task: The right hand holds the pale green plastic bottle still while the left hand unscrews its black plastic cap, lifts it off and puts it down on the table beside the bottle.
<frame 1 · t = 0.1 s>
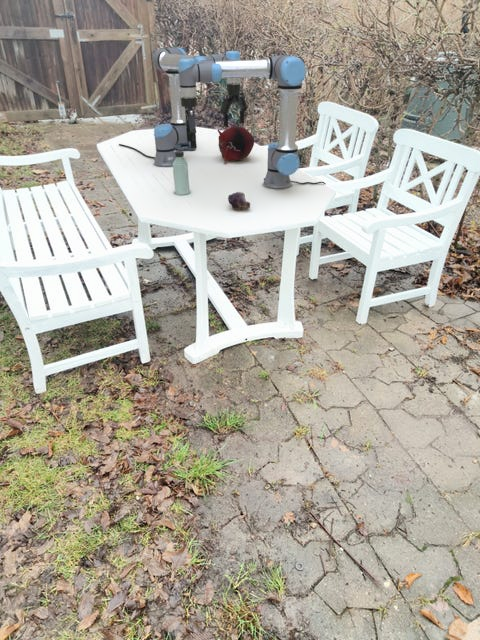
left hand: (234, 125, 259), 28 cm above the table, tool pointing down, fingers open, 13 cm apart
right hand: (191, 144, 222), 28 cm above the table, tool pointing down, fingers open, 13 cm apart
cap: (179, 152, 235), point 21 cm above the table, screwed on, not yet turned
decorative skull: (235, 159, 303), on the table
rock: (238, 208, 226), on the table
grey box: (184, 148, 327), on the table
bottle: (182, 192, 247), on the table
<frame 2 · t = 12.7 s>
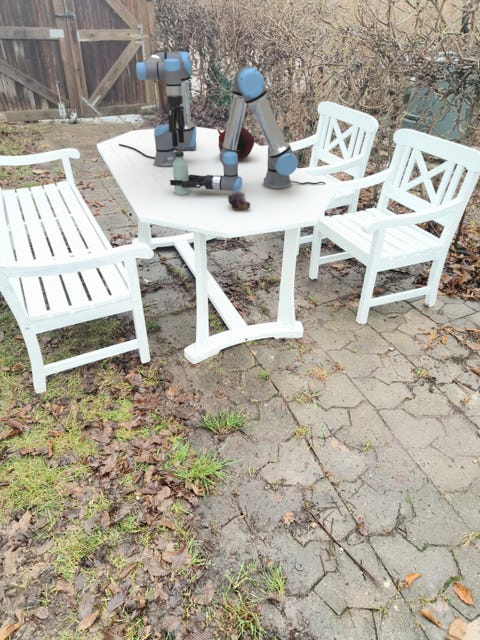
left hand: (178, 144, 233), 26 cm above the table, tool pointing down, fingers open, 7 cm apart
right hand: (173, 180, 244), 7 cm above the table, tool horizontal, fingers closed on bottle, 8 cm apart
bottle: (182, 192, 247), on the table, touching right hand
everything else where it was.
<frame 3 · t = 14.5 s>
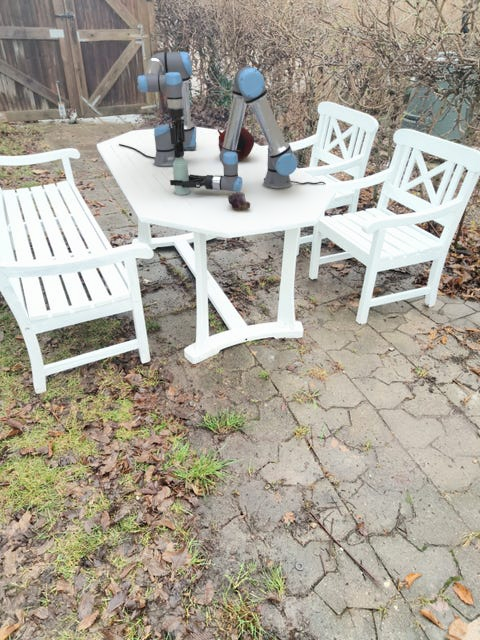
left hand: (179, 156, 236), 19 cm above the table, tool pointing down, fingers closed on cap, 4 cm apart
right hand: (173, 180, 244), 7 cm above the table, tool horizontal, fingers closed on bottle, 8 cm apart
cap: (179, 152, 235), point 21 cm above the table, screwed on, not yet turned, touching left hand
bottle: (182, 192, 247), on the table, touching right hand
everything else where it was.
when the left hand's fingers open (2 cm above the table, at t = 31.3 s): cap drops 2 cm, point 2 cm above the table.
when the right hand's fingers open (7 cm above the table, at t = 32.5 s): bottle stays where it is, on the table.
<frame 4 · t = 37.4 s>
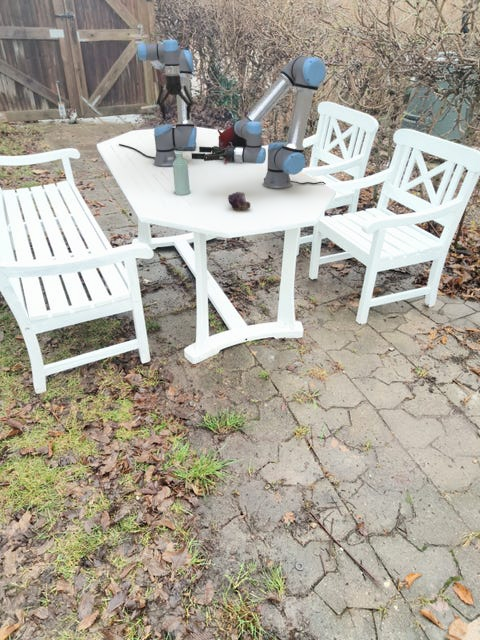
left hand: (176, 119, 244), 34 cm above the table, tool pointing down, fingers open, 13 cm apart
right hand: (195, 152, 233), 22 cm above the table, tool horizontal, fingers open, 13 cm apart
cap: (181, 178, 262), point 2 cm above the table, off its thread
bottle: (182, 192, 247), on the table
everything else where it was.
at the end: cap came off its thread; cap point 1.7 cm above the table; the left hand is holding nothing; the right hand is holding nothing; bottle tilted 0°; bottle moved 0.0 cm from its start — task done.
